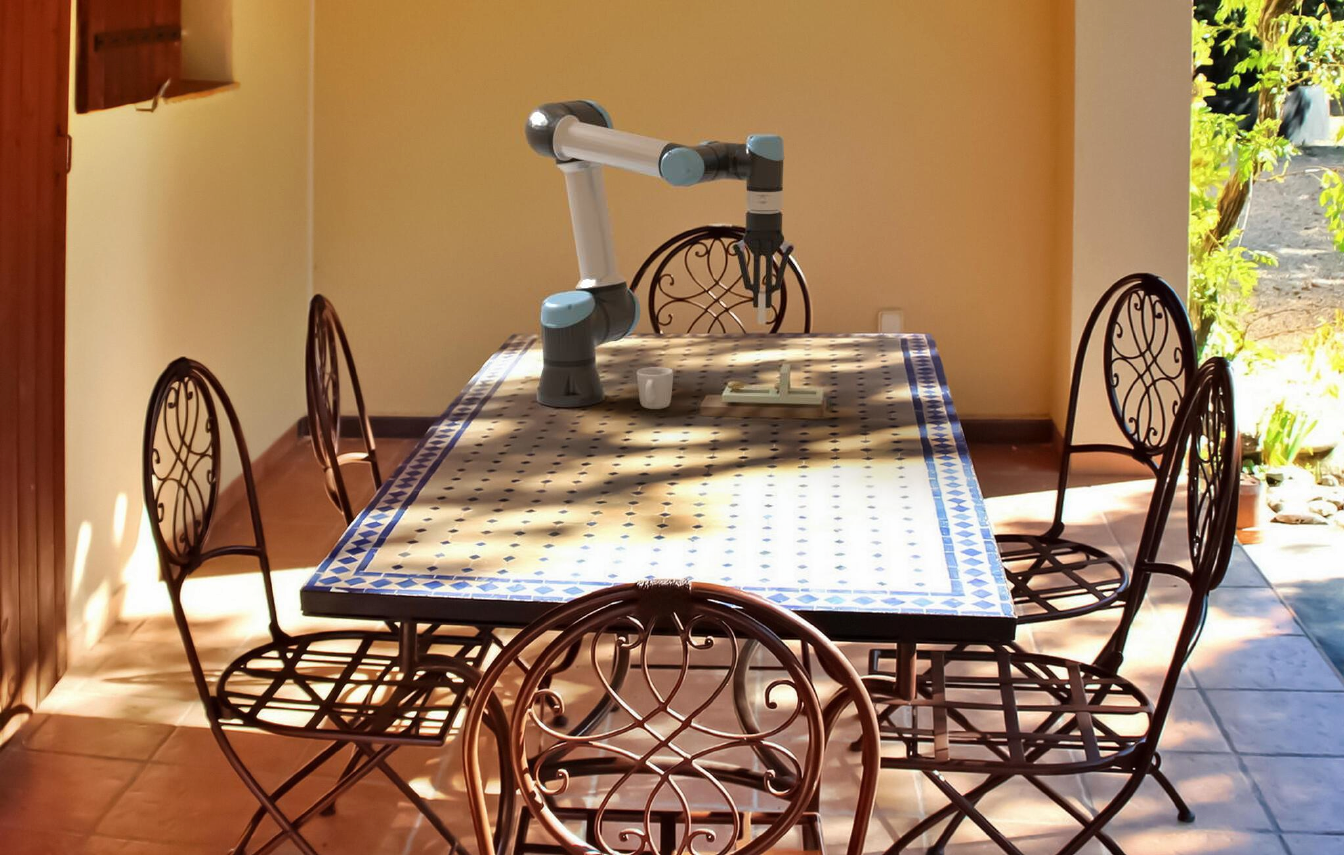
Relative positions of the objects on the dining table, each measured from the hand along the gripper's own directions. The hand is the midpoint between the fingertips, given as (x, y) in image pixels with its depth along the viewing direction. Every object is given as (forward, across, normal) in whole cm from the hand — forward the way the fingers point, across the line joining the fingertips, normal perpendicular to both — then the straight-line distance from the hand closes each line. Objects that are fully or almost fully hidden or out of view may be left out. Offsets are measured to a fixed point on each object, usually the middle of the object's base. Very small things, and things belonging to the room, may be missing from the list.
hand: (762, 322), depth 303 cm
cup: (+20, -23, 0) cm, 30 cm away
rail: (+19, +1, 0) cm, 19 cm away
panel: (+16, +3, 0) cm, 17 cm away
